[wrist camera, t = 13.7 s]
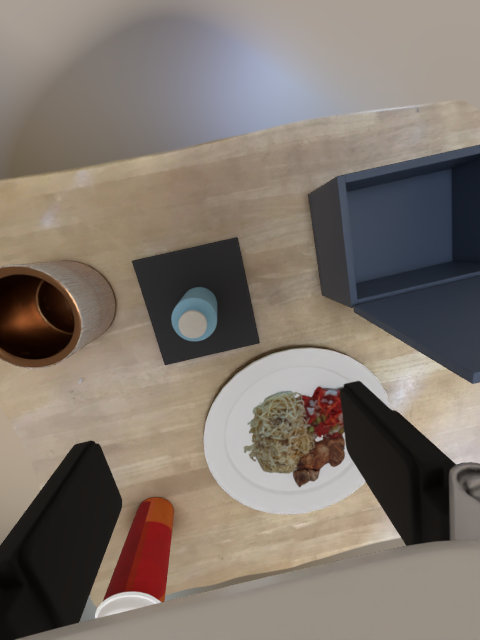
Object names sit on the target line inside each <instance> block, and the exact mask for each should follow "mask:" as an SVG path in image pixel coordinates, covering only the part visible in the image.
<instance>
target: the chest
mask: <svg viewBox="0 0 480 640" xmlns="http://www.w3.org/2000/svg"><path fill="white" fill-rule="evenodd" d="M308 196H309V203H310V211H311V218H312V225H313V232H314V240H315V247H316V254H317V262H318V269H319V276H320V283H321V291H322V295H323V296H325V297H327V298H330V299H332V300H334V301H337V302H339V303H342V304H344V305H346V306H349V307H351V308H353V307H354V305H358V304H363V303H367V302H371V301H375V300H380V299H384V298H388V297H393V296H397V295H401V294H405V293H410V292H414V291H418V290H423V289H427V288H431V287H436V286H440V285H444V284H448V283H453V282H457V281H461V280H466V279H470V278H474V277H479V276H480V145H476V146H472V147H467V148H463V149H458V150H454V151H449V152H445V153H440V154H436V155H431V156H427V157H422V158H418V159H413V160H409V161H404V162H400V163H395V164H391V165H386V166H381V167H377V168H372V169H368V170H363V171H359V172H354V173H350V174H345V175H341V176H337V177H335V178H334V179H332V180H331V181H329V182H327V183H326V184H324V185H323V186H321V187H319V188H318V189H316V190H315V191H313V192H311V193H310V194H308Z"/></svg>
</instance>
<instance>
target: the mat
mask: <svg viewBox="0 0 480 640" xmlns="http://www.w3.org/2000/svg"><path fill="white" fill-rule="evenodd" d="M132 263H133V266H134V269H135V272H136V275H137V278H138V282H139V285H140V288H141V291H142V294H143V297H144V300H145V304H146V307H147V310H148V313H149V316H150V319H151V323H152V326H153V329H154V332H155V335H156V338H157V341H158V345H159V348H160V351H161V354H162V357H163V360H164V364H165V365H168V364H172V363H177V362H181V361H185V360H189V359H194V358H198V357H202V356H206V355H211V354H215V353H219V352H224V351H228V350H232V349H236V348H241V347H245V346H249V345H253V344H258V343H260V342H259V337H258V333H257V328H256V323H255V318H254V314H253V309H252V304H251V299H250V295H249V290H248V285H247V280H246V276H245V271H244V266H243V261H242V256H241V252H240V247H239V242H238V238H232V239H228V240H223V241H219V242H214V243H210V244H205V245H201V246H196V247H192V248H188V249H183V250H179V251H174V252H170V253H165V254H161V255H156V256H152V257H147V258H143V259H139V260H134V261H132ZM195 287H203V288H206V289H208V290H210V291H211V292H212V293H213V294H214V295H215V297H216V300H217V325H216V328H215V330H214V332H213V333H212V334H211V335H210V336H209V337H208V338H206V339H204V340H201V341H188V340H185V339H183V338H182V337H180V336H179V335H178V334H177V333H176V332H175V330H174V328H173V326H172V320H171V318H172V313H173V310H174V308H175V307H176V305H177V304H178V303H179V301H180V300H181V299H182V297H183V296H184V295H185V294H186V292H187V291H189V290H190V289H192V288H195Z"/></svg>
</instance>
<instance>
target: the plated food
mask: <svg viewBox="0 0 480 640" xmlns="http://www.w3.org/2000/svg"><path fill="white" fill-rule="evenodd" d="M355 381H360V382H362V383H363V384H364V385H365V386H366V387H367V388H368V389H369V390H370V391H371V392H373V393H374V394H375V395H376V396H377V397H378V398H379V399H380V400H381V401H382V402H383V403H384V404H386V405H387V406H388V407H389V408H390V409H391V406H390V403H389V400H388V397H387V394H386V391H385V390H384V388H383V387H382V385H381V383H380V382H379V380H378V379H377V377H376V376H375V375H373V374H372V373H371V372H370V371H369V370H368V369H367V368H366V367H365V366H364V365H363V364H361V363H359V362H358V361H356V360H354V359H353V358H351V357H349V356H347V355H344V354H342V353H339V352H336V351H333V350H329V349H321V348H313V347H307V348H291V349H287V350H283V351H279V352H275V353H272V354H269V355H267V356H265V357H263V358H261V359H258V360H256V361H254V362H252V363H251V364H249V365H248V366H246V367H245V368H244V369H242V370H241V371H239V372H238V373H236V374H235V375H234V376H233V378H232V379H231V380H230V381H229V382H228V383H227V384H226V385H225V386H224V387H223V388H222V389H221V391H220V392H219V394H218V396H217V397H216V399H215V400H214V402H213V403H212V406H211V408H210V411H209V414H208V416H207V419H206V424H205V430H204V437H203V440H204V452H205V457H206V460H207V463H208V467H209V470H210V471H211V473H212V475H213V476H214V478H215V480H216V481H217V483H218V484H219V485H220V486H221V487H222V488H223V489H224V490H225V491H226V492H227V494H228V495H230V496H231V497H233V498H234V499H236V500H237V501H239V502H240V503H242V504H244V505H246V506H249V507H251V508H253V509H256V510H259V511H263V512H268V513H272V514H289V515H290V514H300V513H308V512H312V511H315V510H319V509H323V508H325V507H328V506H330V505H332V504H335V503H337V502H339V501H341V500H342V499H344V498H346V497H347V496H349V495H350V494H352V493H354V492H355V491H356V490H357V489H358V488H359V487H361V486H362V485H363V484H364V483H365V482H366V481H365V480H364V478H363V476H362V475H361V473H360V472H359V470H358V469H357V467H356V465H355V464H354V462H353V461H352V459H351V458H350V456H349V454H348V451H347V448H346V441H345V433H344V424H343V415H342V406H341V398H340V389H342V388H344V384H346V383H351V382H355Z"/></svg>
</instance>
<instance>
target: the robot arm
mask: <svg viewBox="0 0 480 640" xmlns="http://www.w3.org/2000/svg"><path fill="white" fill-rule="evenodd" d="M340 398H341V406H342V415H343V424H344V433H345V441H346V448H347V451H348V454H349V456H350V458H351V459H352V461H353V462H354V464H355V465H356V467H357V469H358V470H359V472H360V473H361V475H362V476H363V478H364V480H365V481H366V483H367V484H368V486H369V487H370V489H371V491H372V492H373V494H374V495H375V497H376V498H377V500H378V502H379V503H380V505H381V506H382V508H383V509H384V511H385V513H386V514H387V516H388V517H389V519H390V520H391V522H392V524H393V525H394V527H395V528H396V530H397V532H398V533H399V535H400V536H401V538H402V539H403V541H404V543H405V544H406V546H403V547H399V548H394V549H389V550H384V551H380V552H375V553H370V554H365V555H361V556H356V557H351V558H347V559H343V560H338V561H334V562H330V563H325V564H322V565H317V566H312V567H308V568H304V569H300V570H296V571H291V572H287V573H282V574H278V575H274V576H270V577H265V578H261V579H257V580H253V581H249V582H245V583H240V584H236V585H232V586H228V587H223V588H219V589H215V590H211V591H207V592H203V593H199V594H194V595H190V596H186V597H182V598H178V599H174V600H169V601H166V602H161V603H157V604H153V605H149V606H145V607H141V608H137V609H133V610H129V611H125V612H121V613H116V614H112V615H108V616H104V617H100V618H96V619H92V620H88V621H84V622H80V623H79V621H80V618H81V616H82V613H83V610H84V608H85V605H86V602H87V599H88V597H89V594H90V592H91V589H92V586H93V584H94V581H95V578H96V576H97V573H98V570H99V568H100V565H101V562H102V560H103V557H104V554H105V552H106V549H107V546H108V544H109V541H110V538H111V535H112V533H113V530H114V527H115V525H116V522H117V519H118V517H119V514H120V511H121V508H122V498H121V495H120V493H119V490H118V488H117V486H116V483H115V481H114V478H113V476H112V473H111V471H110V468H109V466H108V464H107V461H106V459H105V456H104V454H103V451H102V449H101V446H100V445H99V444H96V443H95V442H94V441H88V442H83V443H79V444H76V445H74V446H73V448H72V449H71V450H70V452H69V453H68V454H67V456H66V457H65V458H64V460H63V461H62V462H61V464H60V465H59V467H58V468H57V469H56V471H55V472H54V473H53V475H52V476H51V477H50V479H49V480H48V481H47V483H46V484H45V486H44V487H43V488H42V490H41V491H40V492H39V494H38V495H37V496H36V498H35V499H34V501H33V502H32V503H31V505H30V506H29V507H28V509H27V510H26V511H25V513H24V514H23V516H22V517H21V518H20V520H19V521H18V522H17V524H16V525H15V526H14V528H13V529H12V530H11V532H10V533H9V534H8V536H7V537H6V539H5V540H4V541H3V543H2V544H1V545H0V640H480V464H478V463H472V462H470V463H460V464H457V465H456V464H455V463H454V462H453V461H452V460H450V459H449V458H448V457H447V456H446V455H445V454H444V453H443V452H442V451H440V450H439V449H438V448H437V447H436V446H435V445H434V444H433V443H432V442H431V441H429V440H428V439H427V438H426V437H425V436H424V435H423V434H422V433H421V432H419V431H418V430H417V429H416V428H415V427H414V426H413V425H412V424H411V423H410V422H408V421H407V420H406V419H405V418H404V417H403V416H402V415H401V414H400V413H398V412H397V411H394V410H391V409H390V408H389V407H388V406H387V405H386V404H384V403H383V402H382V401H381V400H380V399H379V398H378V397H377V396H376V395H375V394H374V393H373V392H371V391H370V390H369V389H368V388H367V387H366V386H365V385H364V384H363V383H362V382H360V381H355V382H351V383H346V384H344V388H342V389H340Z"/></svg>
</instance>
